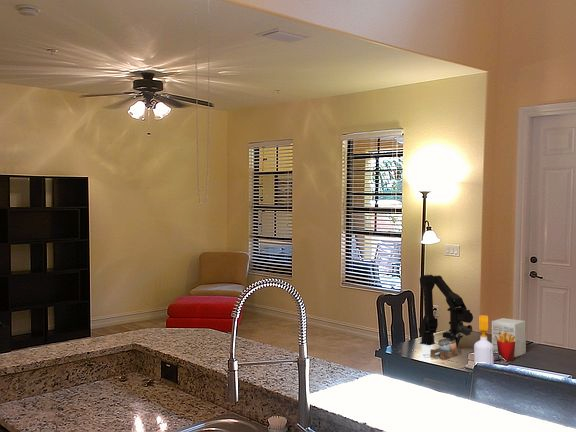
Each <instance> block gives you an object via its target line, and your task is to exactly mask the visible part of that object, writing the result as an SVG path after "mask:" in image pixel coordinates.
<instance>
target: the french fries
mask: <svg viewBox="0 0 576 432" xmlns="http://www.w3.org/2000/svg"><path fill="white" fill-rule="evenodd" d="M506 336H508V338H507V339H506ZM511 336H512V334H510V337H509V334H508V333H507V332H505V333H504V334H502V336H501V331H499V338H500V340H499V339H498V338H497V336H496V335H495V338H496V339H497V340H498V341H497V348H498V354H499V355H501V356H502V357H503V358H504V359H505V360H507V361H511V362H514V358H515V357H514V350H515V342H514V339H515V336H513V337H512V338H511ZM498 354H497V355H498Z"/></svg>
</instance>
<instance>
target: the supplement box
mask: <svg viewBox="0 0 576 432" xmlns="http://www.w3.org/2000/svg"><path fill="white" fill-rule="evenodd" d="M499 331H501V336H502V334H504V333H505V332H507V333H508V334H509V337H510V334H512V336H511V338H512V337H513V336H515V339H514V342H515V350H514V358H518V357H519V356H522V355H524V354H526V353H527V351H526V349H527V348H526V344H527V343H526V341H527V339H526V337H527V336H526V320H521V319H520V320H519V319H513V318H504V317H502V318H498V319H495V320H491V343H492V344H493V351H495V352H498V348H497V341H498V340H497V339H496V338H495V335H496V336H497V338H498V339H499V340H500V338H499ZM507 338H508V336H506V339H507Z"/></svg>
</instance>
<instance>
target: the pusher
mask: <svg viewBox="0 0 576 432" xmlns="http://www.w3.org/2000/svg"><path fill="white" fill-rule="evenodd" d="M435 349H436V353H435V355H436V357H437V356H438V357H440V351H444V352H445V353H447V352H448V350H443V349H438V348H435Z"/></svg>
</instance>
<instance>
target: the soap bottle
mask: <svg viewBox="0 0 576 432" xmlns="http://www.w3.org/2000/svg"><path fill="white" fill-rule="evenodd" d="M478 318H479V319H478V320H479V321H478V323H479V324H478V326H479V327H478V329H479V330H478V331H479V332H480V333H481V335H479V338H480V339H479V340H478V341H476V342H475V343H474V345H473V349H474V350H473V354H474V355H473V357H474V358H473V359H474V360H473V363H476V362H487V363H494V355H495V354H493V344H492V342H490V341H489V340H488V335H486V334H487V333H488V332H489V316H488V315H484V314H483V315H482V314H481V315H479V316H478ZM494 364H495V363H494Z"/></svg>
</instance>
